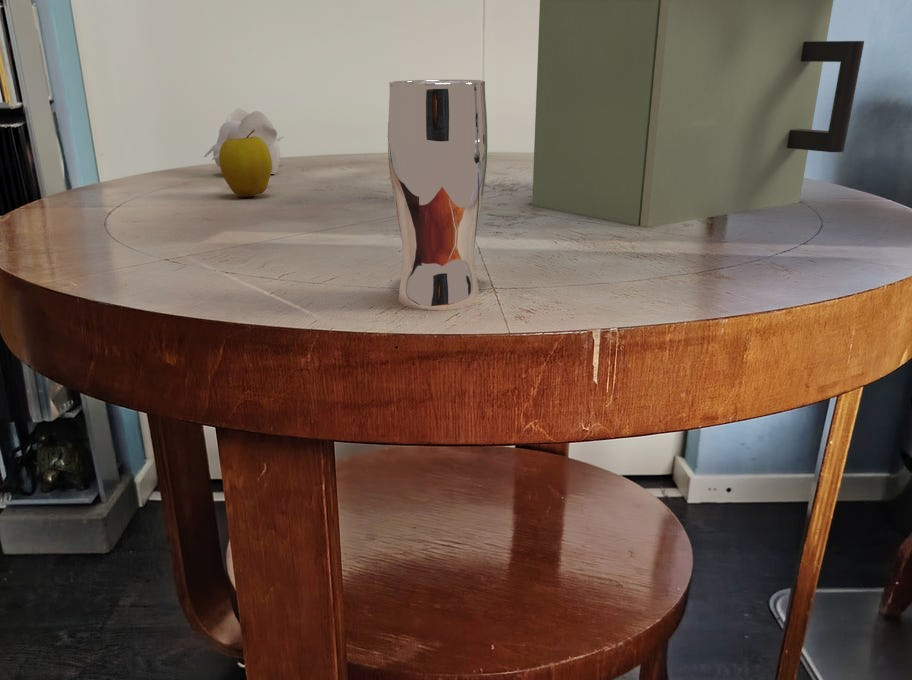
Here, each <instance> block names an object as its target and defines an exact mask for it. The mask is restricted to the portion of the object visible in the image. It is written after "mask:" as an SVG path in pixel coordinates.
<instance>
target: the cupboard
mask: <svg viewBox="0 0 912 680" xmlns="http://www.w3.org/2000/svg"><path fill="white" fill-rule="evenodd" d="M660 4H661V0H539V12H538V14H539V15H538V42H537V63H536V64H537V66H536V67H537V68H536V69H537V71H536V90H535V92H536V93H535V95H536V96H535V120H534V141H533V142H534V143H533V144H534V146H533V171H532V172H533V173H532V195H531V196H532V197H531V198H532V199H531V205H532V206H534V207H539V208H546V209H550V210H554V211H560V212H564V213H565V212H566V213H571V214H575V215H580V216H581V215H582V216H586V217H590V218H596V219H602V220H607V221H613V222H618V223H621V224H628V225H633V226H640V222H641V211H642V200H643V189H644V178H645V167H646V156H647V146H648V135H649V124H650V113H651V102H652V91H653V80H654V70H655V59H656V48H657V37H658V26H659V15H660Z"/></svg>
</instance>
